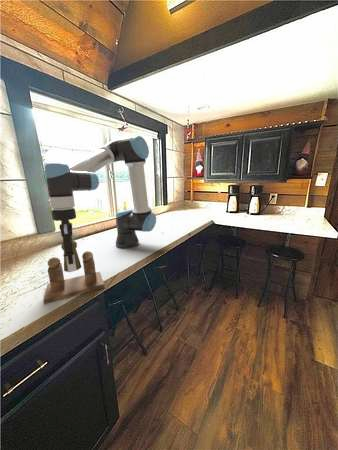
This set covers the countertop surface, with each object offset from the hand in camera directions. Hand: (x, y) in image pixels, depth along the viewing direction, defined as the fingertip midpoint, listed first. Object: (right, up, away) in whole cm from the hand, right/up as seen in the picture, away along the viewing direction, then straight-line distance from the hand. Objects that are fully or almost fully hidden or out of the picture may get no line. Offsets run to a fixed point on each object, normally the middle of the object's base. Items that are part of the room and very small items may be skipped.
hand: (72, 267), depth 70 cm
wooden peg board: (0, -8, +2) cm, 9 cm away
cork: (0, 0, 0) cm, 1 cm away
